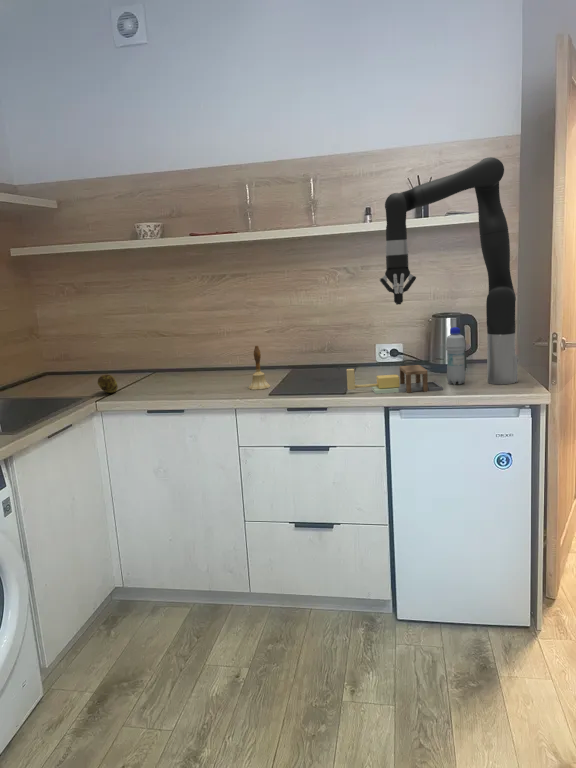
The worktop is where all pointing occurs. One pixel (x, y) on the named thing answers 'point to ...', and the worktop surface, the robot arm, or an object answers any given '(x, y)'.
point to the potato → (107, 383)
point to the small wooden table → (411, 371)
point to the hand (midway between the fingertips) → (398, 304)
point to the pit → (434, 386)
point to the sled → (382, 382)
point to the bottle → (455, 357)
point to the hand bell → (258, 374)
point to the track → (398, 388)
